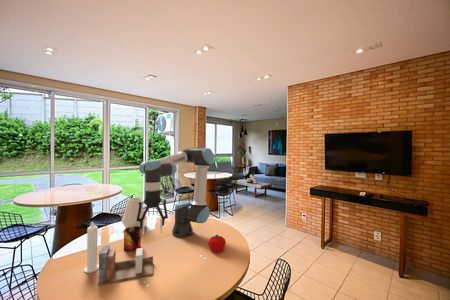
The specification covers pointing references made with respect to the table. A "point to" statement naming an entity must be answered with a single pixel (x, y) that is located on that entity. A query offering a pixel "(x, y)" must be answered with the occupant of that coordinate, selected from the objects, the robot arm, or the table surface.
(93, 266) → the white round flared column
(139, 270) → the bookend
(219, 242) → the apple
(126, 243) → the mug
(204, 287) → the table surface
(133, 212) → the vase
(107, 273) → the rack
